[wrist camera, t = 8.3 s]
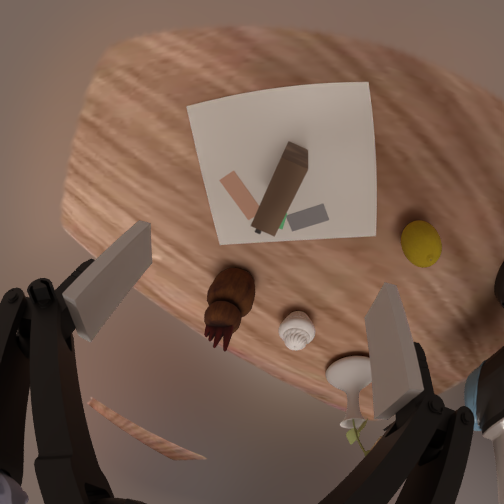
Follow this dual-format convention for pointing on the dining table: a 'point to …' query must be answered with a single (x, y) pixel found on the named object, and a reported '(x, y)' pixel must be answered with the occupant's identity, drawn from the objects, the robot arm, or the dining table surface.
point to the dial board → (271, 149)
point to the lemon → (421, 243)
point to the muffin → (297, 330)
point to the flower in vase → (351, 391)
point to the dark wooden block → (281, 189)
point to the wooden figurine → (228, 304)
